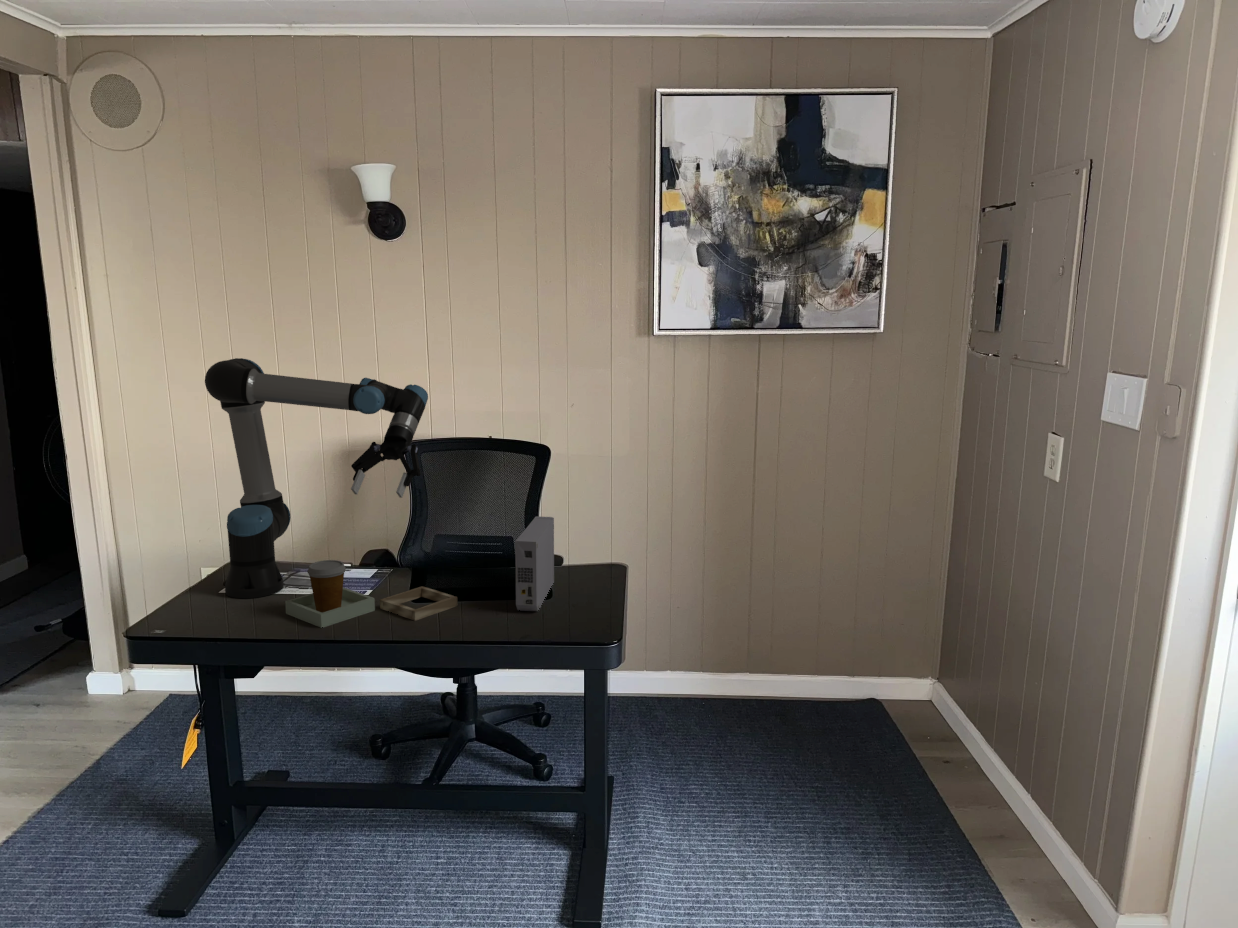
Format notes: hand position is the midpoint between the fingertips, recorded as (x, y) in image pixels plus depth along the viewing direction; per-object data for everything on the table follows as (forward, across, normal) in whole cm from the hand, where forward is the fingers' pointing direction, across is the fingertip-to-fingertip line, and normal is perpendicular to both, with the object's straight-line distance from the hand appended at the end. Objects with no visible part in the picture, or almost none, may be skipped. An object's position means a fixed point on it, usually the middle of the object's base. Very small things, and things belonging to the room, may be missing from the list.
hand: (376, 493), depth 228 cm
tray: (+32, +6, -10) cm, 34 cm away
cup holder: (+25, -15, -16) cm, 33 cm away
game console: (+14, -43, -28) cm, 53 cm away
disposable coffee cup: (+31, +6, -9) cm, 33 cm away
